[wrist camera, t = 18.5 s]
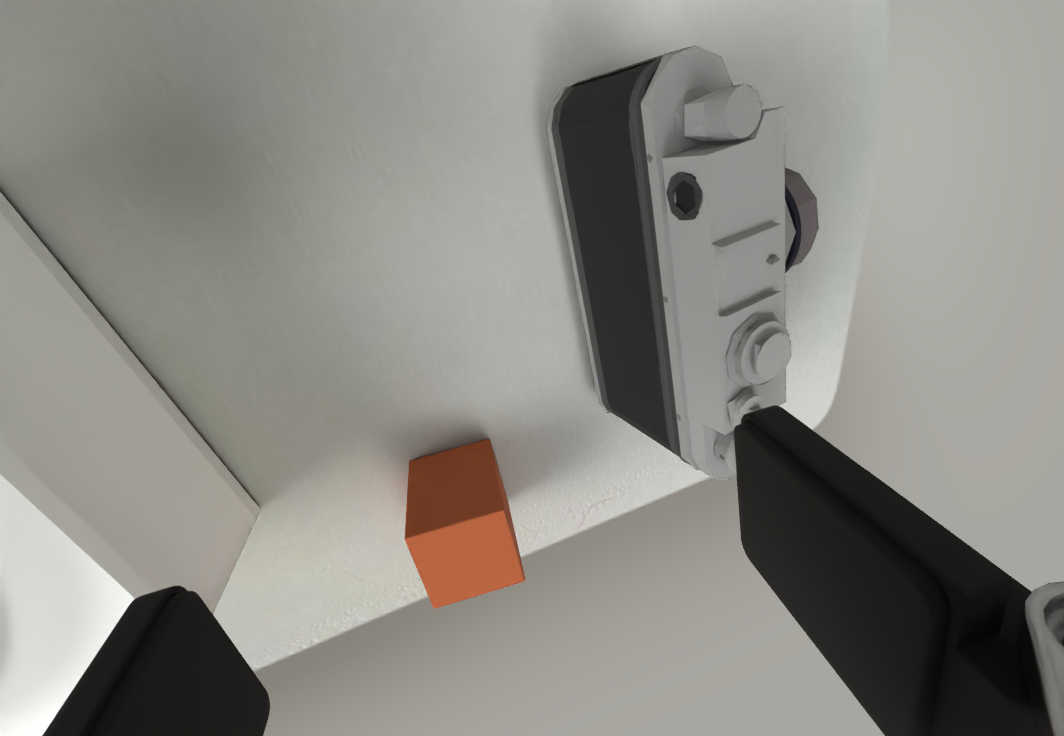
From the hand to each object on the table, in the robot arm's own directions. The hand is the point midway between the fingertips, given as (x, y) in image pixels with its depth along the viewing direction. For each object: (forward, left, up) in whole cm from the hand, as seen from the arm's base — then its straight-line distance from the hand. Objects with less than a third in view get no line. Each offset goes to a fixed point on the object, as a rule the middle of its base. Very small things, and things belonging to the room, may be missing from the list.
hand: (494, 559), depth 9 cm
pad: (-2, -10, -17) cm, 20 cm away
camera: (+10, 0, -17) cm, 20 cm away
